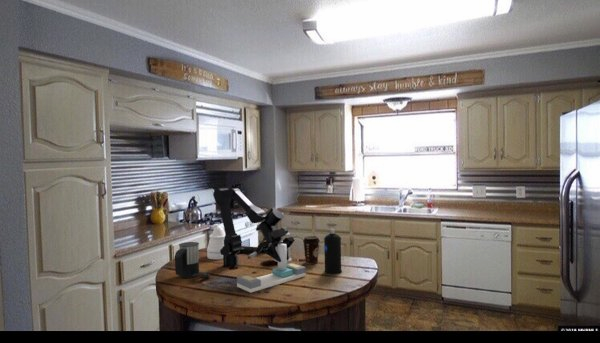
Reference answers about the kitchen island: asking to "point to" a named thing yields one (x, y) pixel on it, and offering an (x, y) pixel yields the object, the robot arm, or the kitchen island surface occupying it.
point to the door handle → (248, 251)
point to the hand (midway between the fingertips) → (284, 260)
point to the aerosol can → (332, 253)
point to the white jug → (216, 243)
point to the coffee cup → (311, 249)
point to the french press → (287, 248)
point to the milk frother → (188, 261)
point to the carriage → (282, 262)
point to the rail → (269, 279)
